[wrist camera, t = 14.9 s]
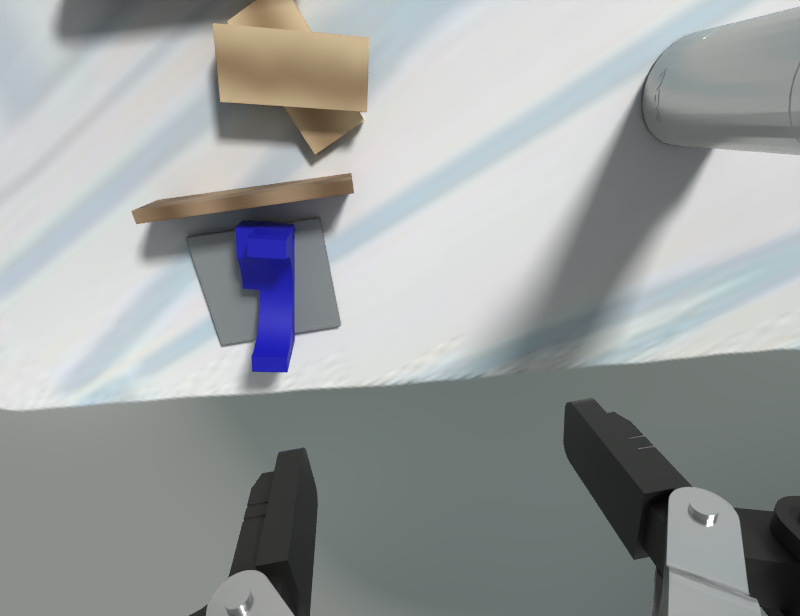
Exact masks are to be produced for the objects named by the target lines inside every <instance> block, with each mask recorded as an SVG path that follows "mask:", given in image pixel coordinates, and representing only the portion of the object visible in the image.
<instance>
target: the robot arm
mask: <svg viewBox="0 0 800 616" xmlns="http://www.w3.org/2000/svg"><path fill="white" fill-rule="evenodd" d="M643 114H644V119H645V122H646V124H647V127H648V129H649V130H650V131H651V133H652V134H653V135H654V136H655V137H656V138H657V139H659V140H660V141H661V142H664V143H667V144H669V145H679V146H691V147H703V148H714V149H727V150H740V151H754V152H767V153H780V154H794V155H800V7H796V8H792V9H788V10H784V11H780V12H776V13H772V14H768V15H764V16H760V17H756V18H752V19H748V20H744V21H740V22H736V23H731V24H727V25H723V26H719V27H715V28H711V29H707V30H703V31H699V32H695V33H692V34H690V35H687V36H684V37H683V38H681V39H679V40H678V41H676V42H674V43H673V44H672V45H671V46H670V47H669V48H668V49H666V50H665V51H664V52H663V54H662V55H661V56H660V57H659V59H658V60H657V61H656V63H655V65H654V66H653V68H652V70H651V72H650V74H649V76H648V79H647V82H646V84H645V88H644V94H643ZM563 441H564V448H565V452H566V455H567V458H568V460H569V462H570V463H571V465H572V466H573V468H574V469H575V471H576V472H577V474H578V475H579V477H580V479H581V480H582V481H583V483H584V485H585V486H586V487H587V489H588V490H589V492H590V494H591V495H592V497H593V498H594V500H595V501H596V503H597V504H598V506H599V507H600V509H601V510H602V512H603V513H604V515H605V517H606V518H607V520H608V521H609V523H610V524H611V526H612V527H613V529H614V530H615V532H616V533H617V535H618V536H619V538H620V539H621V541H622V542H623V544H624V545H625V547H626V548H627V550H628V551H629V553H630V555H631V556H632V557H633V559H634V560H635V559H640V558H645V557H650V558H651V559H652V561H653V562H654V564H655V565H656V568H655V574H654V592H653V609H652V616H761V611H760V607H762V609H763V610H764V611H765V612H766V614H767V615H768V616H800V496H788V497H783V498H781V499H780V500H779V501H777V503H776V505H775V508H774V511H761V510H751V509H741V508H733V507H732V506H731V505H730V504H729V503H728V502H726V501H725V500H724V499H722V498H721V497H720V496H718V495H716V494H714V493H712V492H710V491H707V490H704V489H700V488H695V487H692V486H691V485H690V484H689V483H688V482H687V481H686V480H685V478H684V477H683V476H682V475H681V474H680V473H679V472H678V471H677V470H676V469H675V468H674V467H673V466H672V465H671V464H670V463H669V461H668V460H666V458H665V457H664V456H663V455H662V454H661V453H660V452H659V451H658V450H657V449H656V448H654V447H653V445H652V444H651V443H650V441H649V440H648V439H647V438H646V437H643V434H642V433H641V432H640V431H639V430H638V429H637V428H636V427H635V426H634V425H633V424H632V423H631V422H630V421H629V420H627V419H625V418H623V417H622V416H620V415H618V414H617V413H615V412H611V413H606V412H605V411H604V410H603V408H602V407H601V406H600V405H599V404H598V403H597V402H596V401H595V400H594V399H592V398H589V399H584V400H578V401H572V402H568V403H566V406H565V419H564V440H563ZM317 508H318V501H317V490H316V485H315V481H314V477H313V474H312V470H311V466H310V463H309V459H308V455H307V452H306V449H305V448H300V449H293V450H288V451H282V452H279V453H278V457H277V461H276V466H275V471H273V472H267V473H262V474H261V476H260V477H259V479H258V480H257V482H256V483H255V484H254V486H253V487H252V489H251V492H250V497H249V500H248V504H247V509H246V512H245V516H244V522H243V524H242V527H241V531H240V535H239V539H238V543H237V548H236V551H235V555H234V559H233V563H232V567H231V570H230V574H229V577H228V579H226V580H225V581H224V582H223V583H222V584H221V585H220V586H219V587H218V588H217V589H216V591H215V592H214V593H213V595H212V597H211V598H210V601H209V603H208V604H207V605H206V606H205V607H203V608H202V609H201V610H199V611H197V612H195V613H193V614H192V615H189V616H310V605H311V592H312V577H313V564H314V550H315V535H316V522H317Z"/></svg>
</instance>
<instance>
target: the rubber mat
mask: <svg viewBox="0 0 800 616" xmlns="http://www.w3.org/2000/svg"><path fill="white" fill-rule="evenodd" d="M286 223H289V224H295V333H299V332H306V331H312V330H318V329H325V328H331V327H337V326H341V322H340V317H339V312H338V307H337V302H336V297H335V292H334V287H333V282H332V277H331V272H330V267H329V262H328V257H327V252H326V247H325V242H324V237H323V232H322V226H321V221H320V218H313V219H307V220H300V221H293V222H286ZM186 240H187V243H188V246H189V249H190V252H191V255H192V258H193V261H194V264H195V267H196V270H197V273H198V276H199V279H200V282H201V285H202V288H203V291H204V294H205V297H206V300H207V303H208V306H209V309H210V312H211V315H212V318H213V321H214V324H215V327H216V330H217V333H218V336H219V339H220V342H221V345H224V344H230V343H237V342H243V341H249V340H256V338H257V331H258V323H259V307H260V290H255V289H243V287H242V277H241V271H240V266H239V263H238V260H237V251H236V232H235V230H230V231H223V232H217V233H210V234H203V235H196V236H189V237H187V238H186Z"/></svg>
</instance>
